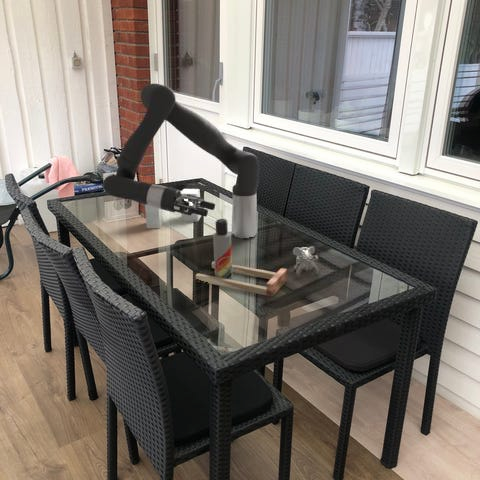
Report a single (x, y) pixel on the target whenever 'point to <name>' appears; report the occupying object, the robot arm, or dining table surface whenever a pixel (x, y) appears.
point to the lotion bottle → (222, 250)
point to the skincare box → (153, 217)
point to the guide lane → (269, 290)
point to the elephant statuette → (305, 259)
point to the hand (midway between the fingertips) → (211, 210)
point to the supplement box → (197, 193)
